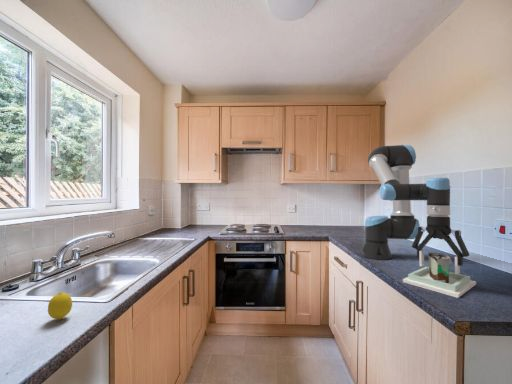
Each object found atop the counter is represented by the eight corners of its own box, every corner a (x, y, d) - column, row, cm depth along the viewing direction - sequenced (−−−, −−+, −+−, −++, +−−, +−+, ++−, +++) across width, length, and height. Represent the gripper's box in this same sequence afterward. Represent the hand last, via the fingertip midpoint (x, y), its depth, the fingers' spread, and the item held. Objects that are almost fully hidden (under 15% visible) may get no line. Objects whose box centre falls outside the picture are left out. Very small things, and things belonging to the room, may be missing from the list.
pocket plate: (402, 281, 97) (402, 274, 97) (424, 272, 109) (424, 265, 109) (458, 297, 82) (458, 288, 82) (476, 284, 94) (475, 276, 94)
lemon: (55, 326, 66) (55, 297, 66) (43, 322, 68) (43, 294, 68) (76, 316, 71) (76, 290, 71) (64, 313, 73) (64, 287, 73)
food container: (458, 287, 88) (457, 260, 88) (438, 285, 90) (438, 259, 90) (445, 276, 100) (445, 252, 100) (428, 274, 102) (427, 251, 102)
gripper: (402, 214, 103) (403, 263, 103) (473, 218, 84) (474, 280, 84) (410, 213, 108) (410, 261, 107) (480, 217, 88) (480, 275, 88)
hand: (438, 269), depth 96 cm, fingers open, 11 cm apart
